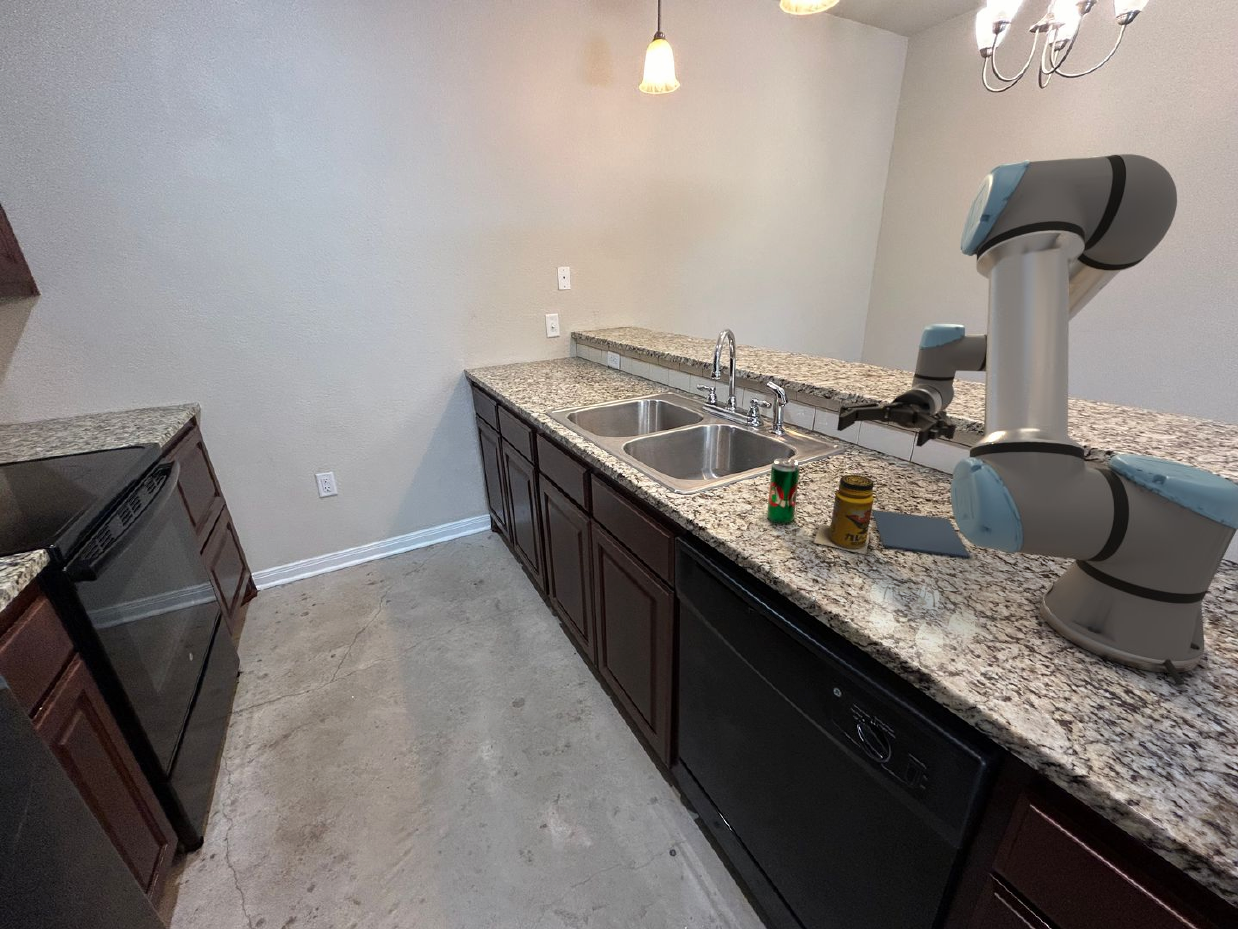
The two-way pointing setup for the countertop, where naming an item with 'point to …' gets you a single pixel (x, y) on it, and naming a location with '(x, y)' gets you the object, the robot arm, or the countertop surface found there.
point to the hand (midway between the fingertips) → (877, 431)
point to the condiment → (849, 515)
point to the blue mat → (919, 533)
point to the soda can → (783, 490)
